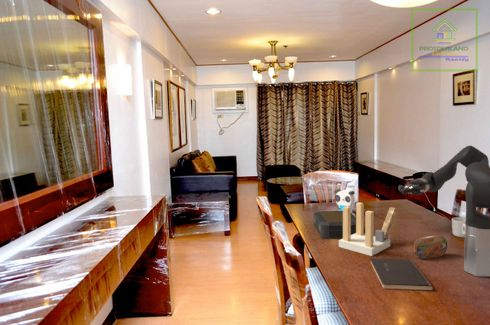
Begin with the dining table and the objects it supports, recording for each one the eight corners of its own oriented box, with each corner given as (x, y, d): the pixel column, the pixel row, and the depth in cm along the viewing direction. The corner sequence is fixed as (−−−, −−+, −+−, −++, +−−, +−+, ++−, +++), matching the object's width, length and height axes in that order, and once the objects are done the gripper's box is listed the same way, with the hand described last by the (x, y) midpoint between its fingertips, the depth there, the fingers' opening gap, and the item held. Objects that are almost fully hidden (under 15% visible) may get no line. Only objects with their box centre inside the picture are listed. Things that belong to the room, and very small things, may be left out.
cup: (476, 240, 161) (477, 223, 160) (457, 240, 163) (457, 223, 162) (466, 233, 172) (467, 217, 171) (448, 233, 173) (449, 217, 172)
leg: (386, 239, 158) (396, 210, 163) (384, 237, 156) (394, 207, 161) (381, 238, 160) (391, 209, 165) (379, 236, 158) (389, 207, 163)
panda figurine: (330, 215, 213) (330, 190, 211) (341, 211, 220) (341, 187, 219) (348, 218, 204) (348, 193, 202) (358, 214, 211) (358, 190, 210)
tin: (417, 260, 142) (417, 240, 141) (411, 257, 145) (411, 237, 144) (447, 255, 146) (448, 235, 145) (441, 252, 149) (442, 233, 148)
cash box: (364, 238, 170) (364, 223, 169) (321, 239, 171) (321, 224, 170) (350, 223, 195) (350, 210, 194) (313, 224, 195) (312, 211, 195)
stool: (392, 245, 159) (392, 206, 157) (371, 256, 148) (372, 213, 146) (359, 237, 171) (360, 200, 169) (338, 246, 160) (338, 207, 158)
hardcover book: (382, 290, 119) (382, 283, 119) (369, 263, 142) (369, 257, 142) (433, 292, 117) (433, 285, 116) (411, 264, 139) (412, 258, 139)
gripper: (405, 177, 184) (389, 182, 173) (432, 180, 174) (417, 185, 163) (405, 192, 185) (389, 197, 174) (432, 195, 175) (416, 201, 164)
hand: (402, 191), depth 168 cm, fingers closed
